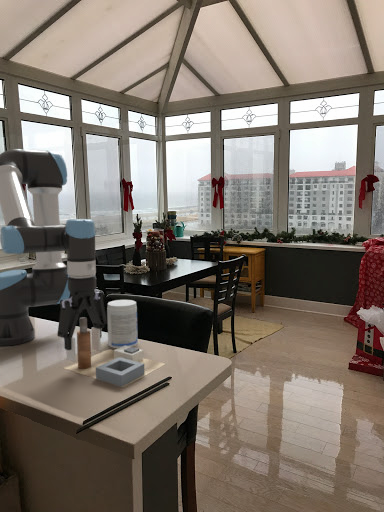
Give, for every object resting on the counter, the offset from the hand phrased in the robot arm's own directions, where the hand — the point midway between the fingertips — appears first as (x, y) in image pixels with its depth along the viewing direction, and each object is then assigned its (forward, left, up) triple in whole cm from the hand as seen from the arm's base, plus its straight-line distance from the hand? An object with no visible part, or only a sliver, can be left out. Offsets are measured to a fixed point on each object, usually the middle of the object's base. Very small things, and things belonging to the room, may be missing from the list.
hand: (84, 354), depth 115 cm
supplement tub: (-4, +21, -5) cm, 21 cm away
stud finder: (+7, +11, -3) cm, 13 cm away
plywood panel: (+7, +5, -4) cm, 10 cm away
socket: (+13, +1, -3) cm, 13 cm away
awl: (0, 0, -3) cm, 3 cm away
